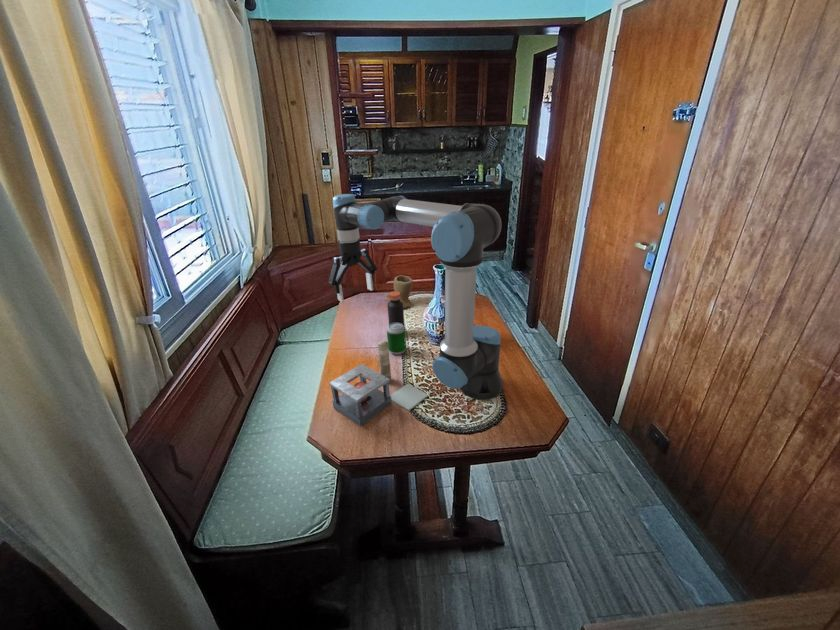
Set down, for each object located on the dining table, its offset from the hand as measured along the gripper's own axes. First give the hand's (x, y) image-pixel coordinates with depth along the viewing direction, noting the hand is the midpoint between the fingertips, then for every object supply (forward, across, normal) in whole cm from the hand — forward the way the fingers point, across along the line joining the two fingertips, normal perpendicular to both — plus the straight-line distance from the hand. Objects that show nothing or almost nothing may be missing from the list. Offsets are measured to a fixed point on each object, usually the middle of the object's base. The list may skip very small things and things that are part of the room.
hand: (356, 295), depth 146 cm
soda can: (+28, -12, +7) cm, 31 cm away
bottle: (+28, -21, -4) cm, 35 cm away
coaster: (+28, +5, +33) cm, 43 cm away
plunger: (+24, +19, +25) cm, 39 cm away
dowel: (+28, +4, +20) cm, 34 cm away
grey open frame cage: (+28, +19, +25) cm, 41 cm away
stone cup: (+28, -44, -26) cm, 58 cm away
